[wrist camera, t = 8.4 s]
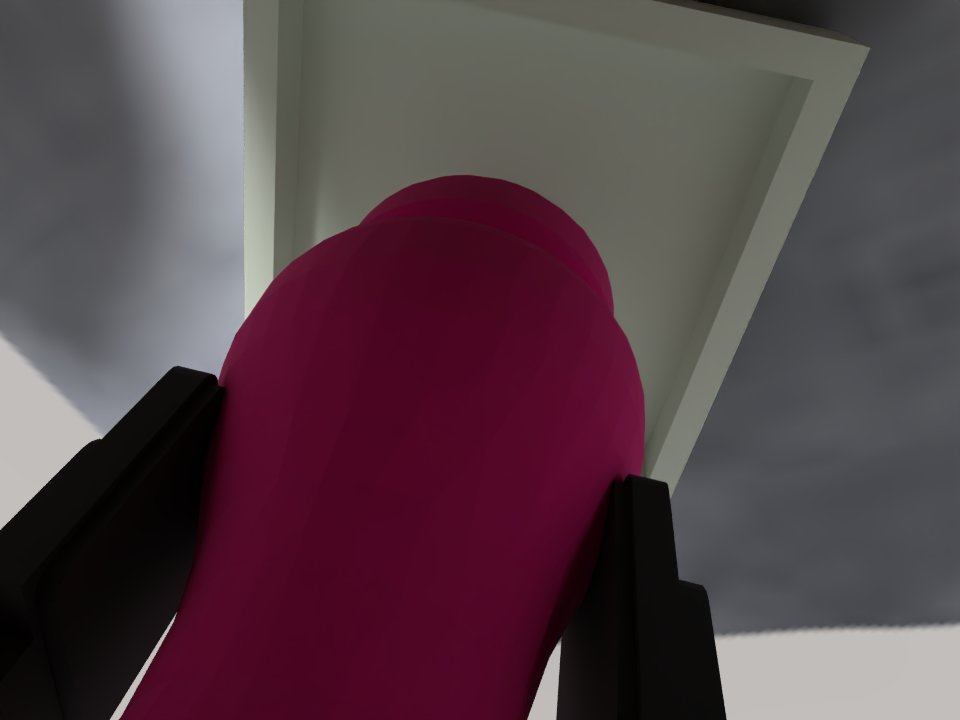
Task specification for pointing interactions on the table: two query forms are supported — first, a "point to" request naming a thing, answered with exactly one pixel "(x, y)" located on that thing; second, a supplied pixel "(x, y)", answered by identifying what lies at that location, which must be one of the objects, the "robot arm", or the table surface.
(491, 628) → the pepper mill
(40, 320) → the table surface
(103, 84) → the table surface
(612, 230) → the tray
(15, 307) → the table surface
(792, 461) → the table surface
